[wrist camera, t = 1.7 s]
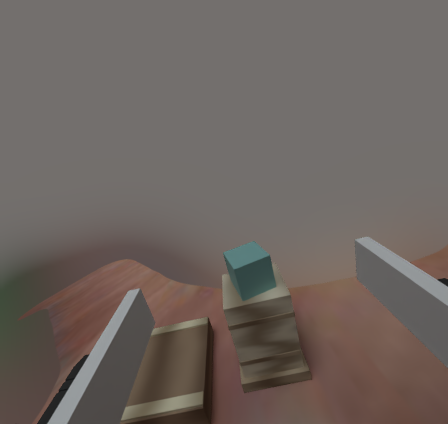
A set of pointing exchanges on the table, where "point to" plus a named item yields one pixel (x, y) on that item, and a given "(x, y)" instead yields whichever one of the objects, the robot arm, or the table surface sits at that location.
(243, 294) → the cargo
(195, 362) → the dock
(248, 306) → the wooden block tower
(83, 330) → the table surface
